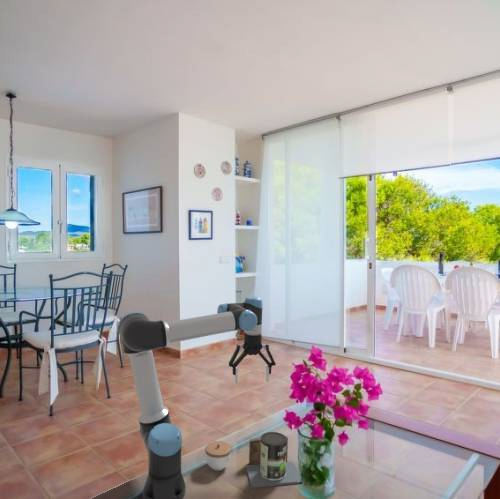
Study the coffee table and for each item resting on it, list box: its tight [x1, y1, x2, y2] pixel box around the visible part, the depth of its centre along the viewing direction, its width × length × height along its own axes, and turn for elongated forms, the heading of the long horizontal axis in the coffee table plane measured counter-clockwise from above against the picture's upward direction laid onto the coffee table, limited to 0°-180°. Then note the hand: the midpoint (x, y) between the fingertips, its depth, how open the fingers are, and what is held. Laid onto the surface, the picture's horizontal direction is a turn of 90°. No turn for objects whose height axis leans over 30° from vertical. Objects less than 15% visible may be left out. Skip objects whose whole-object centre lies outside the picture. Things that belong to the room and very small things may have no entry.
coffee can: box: [260, 431, 287, 481], centre depth 157 cm, size 10×10×14 cm
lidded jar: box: [204, 440, 233, 472], centre depth 163 cm, size 11×11×9 cm
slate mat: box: [245, 461, 299, 489], centre depth 158 cm, size 20×13×1 cm, turn 101°
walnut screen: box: [248, 435, 289, 465], centre depth 166 cm, size 16×2×10 cm, turn 101°
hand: (251, 381), depth 173 cm, fingers open, 13 cm apart
